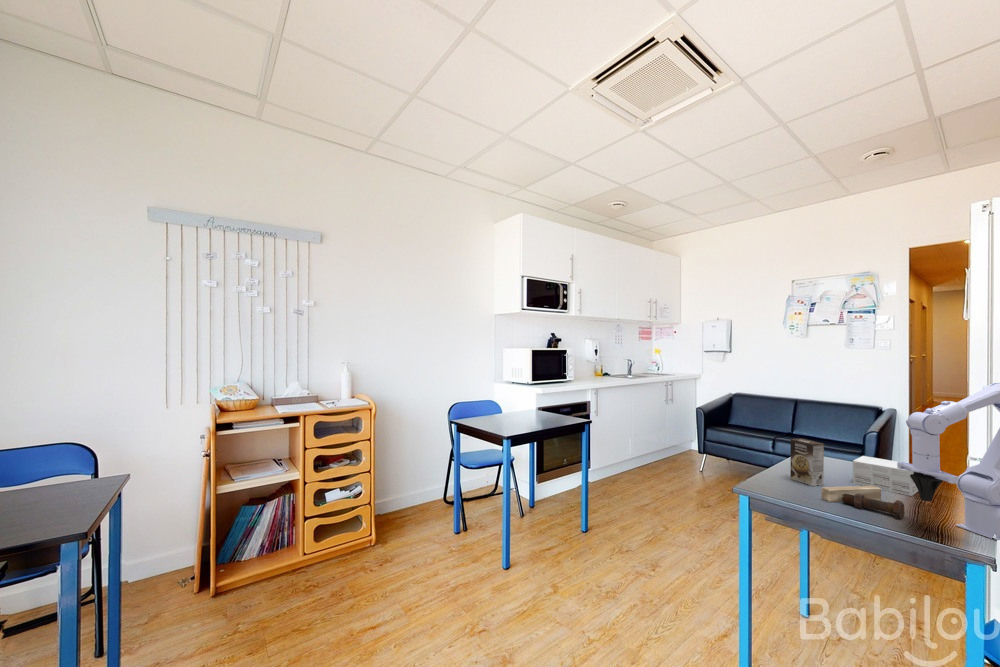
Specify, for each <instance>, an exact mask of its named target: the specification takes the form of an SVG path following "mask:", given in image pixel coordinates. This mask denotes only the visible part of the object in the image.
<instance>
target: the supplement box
mask: <svg viewBox="0 0 1000 667" xmlns="http://www.w3.org/2000/svg"><path fill="white" fill-rule="evenodd" d="M897 462H898V461H897V460H890V459H884V458H878V457H872V456H867V455H861V456H859V457H858V458H855V459H854V460H852V484H853V483H854V485H858V484H859V485H858V486H862V485H864V486H875V487H878V488H881V489H882V490H881V491H885V490H886V491H887V492H890V491H891V492H890V493H894V492H896V493H895V494H899V493H900V494H899V495H904V496H910V497H913V496H914V495H915V494H916V493H919V491H918V489H917V487H916V485H915V483H914V481H913V480H912V479H911V477H910V474H913V473H914V472H911V471H908V470H904V469H899V468H897Z"/></svg>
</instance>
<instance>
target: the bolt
mask: <svg viewBox="0 0 1000 667" xmlns="http://www.w3.org/2000/svg"><path fill="white" fill-rule="evenodd" d="M842 496H844V497H842V501H843V502H842V503H844V504H848V505H852V506H854V507H855V508H856V507H857V508H856V509H860V508H861V509H862V508H863V509H865V508H866V509H871V510H875V511H879V512H884V513H887V514H892V515H893V516H894V518H895V519H899V520H903V519H904V518H905V504H904V502H903V501H902V500H895V501H894V502H889V501H888V502H887V501H882V500H875V499H868V498H865V497H864V495H863V494H855V496H854V495H849V494H842ZM861 509H860V510H861ZM863 509H862V510H863Z"/></svg>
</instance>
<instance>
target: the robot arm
mask: <svg viewBox="0 0 1000 667" xmlns="http://www.w3.org/2000/svg"><path fill="white" fill-rule="evenodd" d="M991 405H992V406H993V407H994V408H995V409H996V410H997V411H998V412H999V413H1000V382H992V383H991V384H989V385H984V386H983V387H982V389H981V390H979V391H977V392H975V393H973V394H970V395H969V396H967V397H964V398H963V399H961V400H959V401H957V402H955V401H953V400H952V401H951V400H949V401H948V400H944V401H943V400H942V401H941V402H940V404H939V405H937V406H934V407H931V408H930V407H927V408H925V411H923V412H921V411H915V412H913V413H911V414H910V415H909V416H908V418H907V419H906V420H905V423H906V426H907V427H908V429H909V430H910V435H911V442H912V443H911V451H912V452H911V454H912V456H911V457H912V458H911V459H912V461H911V462H912V463H909V462H904V461H897V468H899V469H904V470H908V471H911V472H914V473H913V474H910V477H911V479H912V480H913V481H914V483H915V485H916V487H917V489H918V494H919V497H920V500H921V501H925V502H932V501H933V498H934V496H935V494H936V490H937V489H938V488H939V487H940V485H941V484H942V483H943V482H947V483H949V484H952V485H953V484H955V485H956V487H957V489H958V490H959V491H960V492H961V493H962V497H964V523H956V525H955V526H956V527H959V528H961V529H965V530H967V531H969V532H972V533H974V534H977V535H981V536H984V537H986V538H988V539H992V538H993V536H994V534H995V535H996V540H995V541H1000V427H999V429H998V430H997V431H996V434H995V436H994V437H993V439H992V440H991V442H990V444H989V446H988V448H986V451H985V453H984V455H983V457H982V458H981V460H980V462H979V463H978V464H975V465H972V466H968V467H966V469H965V471H964V472H963V473H961V474H960V475H958V476H957V475H954V474H951V473H948V472H946V471H943V470H941V456H940V455H941V454H940V451H941V450H940V447H941V446H940V444H941V442H940V435H941V434H943V433H945V431H946V429H947V427H949V426H951V425H953V424H956V423H958V422H960V421H962V420H965V419H967V417H968V414H969V413H971V412H974V411H976V410H979V409H982V408H985V407H988V406H991ZM992 540H993V539H992Z"/></svg>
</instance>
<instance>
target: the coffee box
mask: <svg viewBox="0 0 1000 667" xmlns="http://www.w3.org/2000/svg"><path fill="white" fill-rule="evenodd" d="M824 453H825V443H822V442H818V441H814V440H809V439H806V438H790V480H792V481H795V482H798V481H799V482H798V483H801V482H802V483H801V484H804V483H805V484H804V485H807V484H808V486H810V485H811V487H817V485H819V486H824V483H825V482H824V481H825V480H824V478H825V477H824V471H825V470H824V468H825V467H824V464H825V462H824V459H825V457H824V456H825V454H824Z"/></svg>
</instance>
